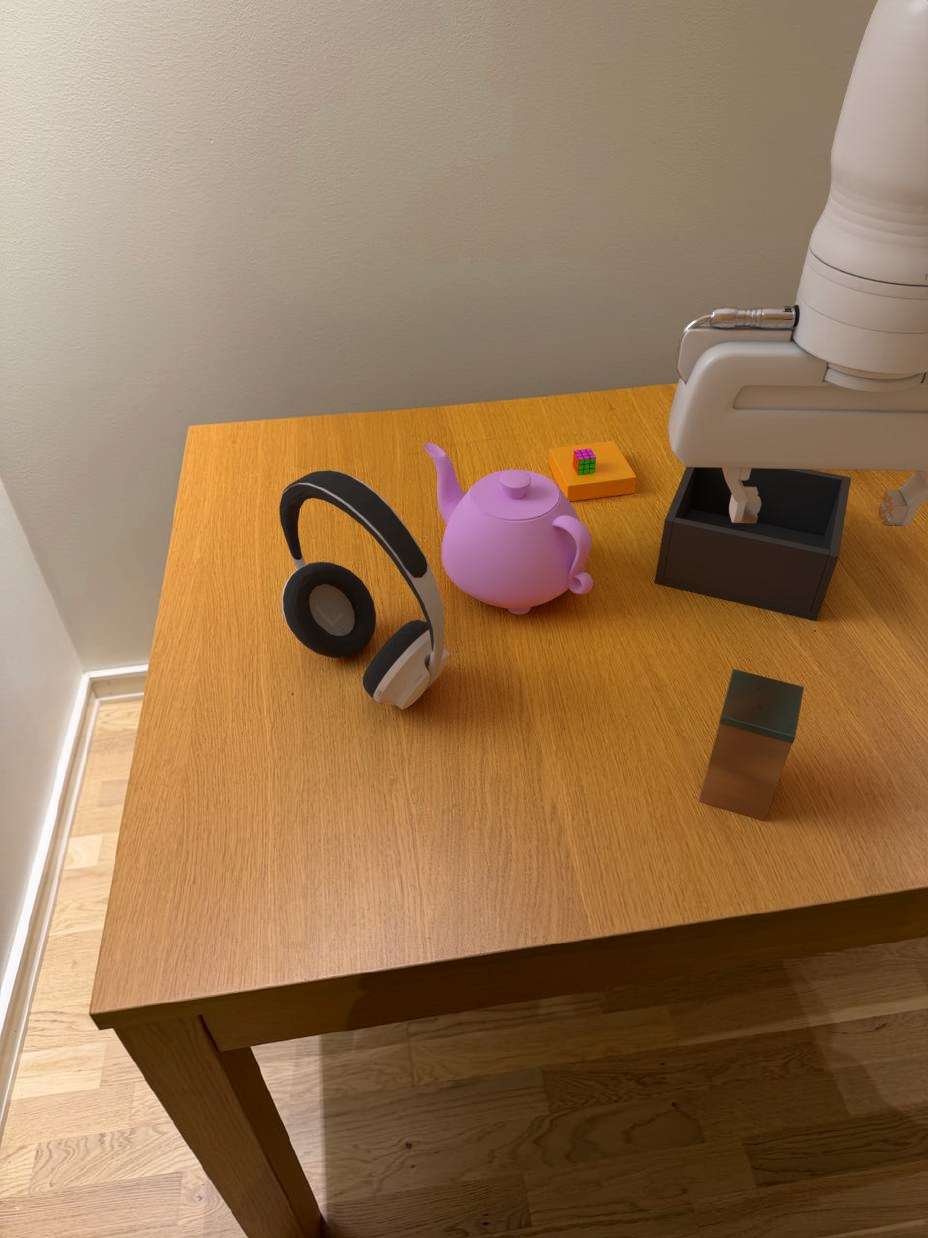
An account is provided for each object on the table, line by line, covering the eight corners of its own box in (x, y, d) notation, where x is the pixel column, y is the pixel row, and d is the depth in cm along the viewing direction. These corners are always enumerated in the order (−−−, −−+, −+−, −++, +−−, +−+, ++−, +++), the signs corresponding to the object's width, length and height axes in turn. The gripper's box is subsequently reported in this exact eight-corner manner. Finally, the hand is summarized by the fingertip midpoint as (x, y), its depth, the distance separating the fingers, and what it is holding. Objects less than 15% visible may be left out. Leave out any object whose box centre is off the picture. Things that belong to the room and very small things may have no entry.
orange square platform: (547, 464, 105) (549, 432, 102) (612, 456, 106) (616, 424, 103) (566, 502, 99) (568, 470, 96) (634, 493, 100) (639, 461, 97)
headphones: (477, 698, 78) (476, 510, 64) (408, 753, 73) (390, 563, 60) (335, 600, 88) (308, 419, 74) (267, 643, 83) (224, 460, 70)
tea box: (774, 772, 71) (804, 686, 64) (764, 822, 68) (795, 737, 61) (710, 753, 73) (732, 668, 66) (697, 801, 69) (720, 716, 62)
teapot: (386, 571, 91) (376, 470, 83) (473, 508, 99) (472, 410, 90) (545, 657, 81) (552, 552, 73) (628, 579, 89) (642, 477, 81)
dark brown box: (830, 539, 93) (851, 476, 88) (816, 621, 84) (838, 556, 79) (682, 509, 98) (694, 447, 93) (654, 583, 89) (664, 519, 83)
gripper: (691, 331, 46) (657, 545, 55) (1106, 335, 44) (998, 553, 54) (677, 283, 50) (647, 488, 60) (1052, 285, 49) (962, 494, 58)
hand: (816, 519), depth 57 cm, fingers open, 8 cm apart
